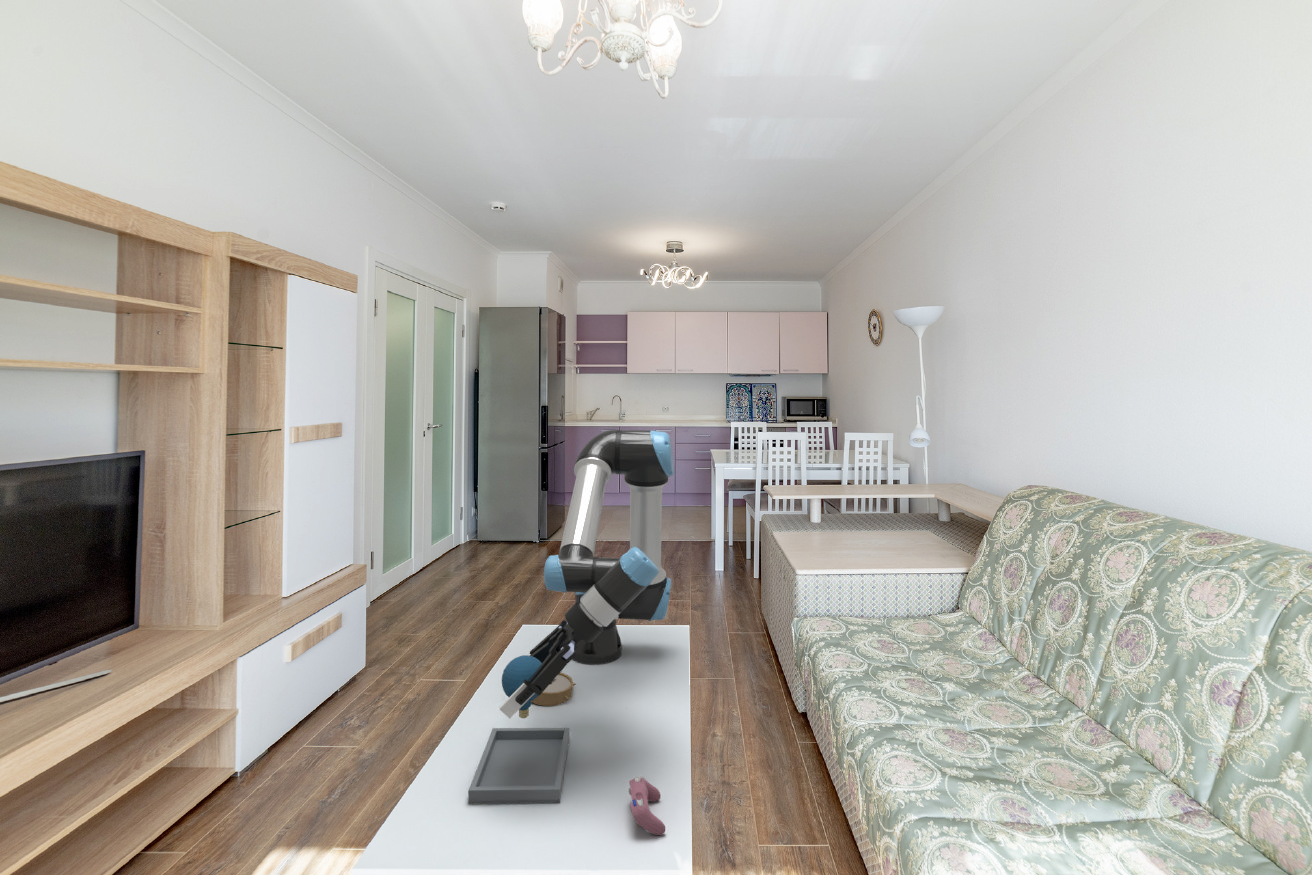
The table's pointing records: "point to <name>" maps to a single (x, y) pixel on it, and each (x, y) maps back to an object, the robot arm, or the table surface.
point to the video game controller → (645, 805)
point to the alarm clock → (556, 691)
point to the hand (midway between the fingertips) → (505, 700)
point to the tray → (521, 766)
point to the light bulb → (520, 678)
